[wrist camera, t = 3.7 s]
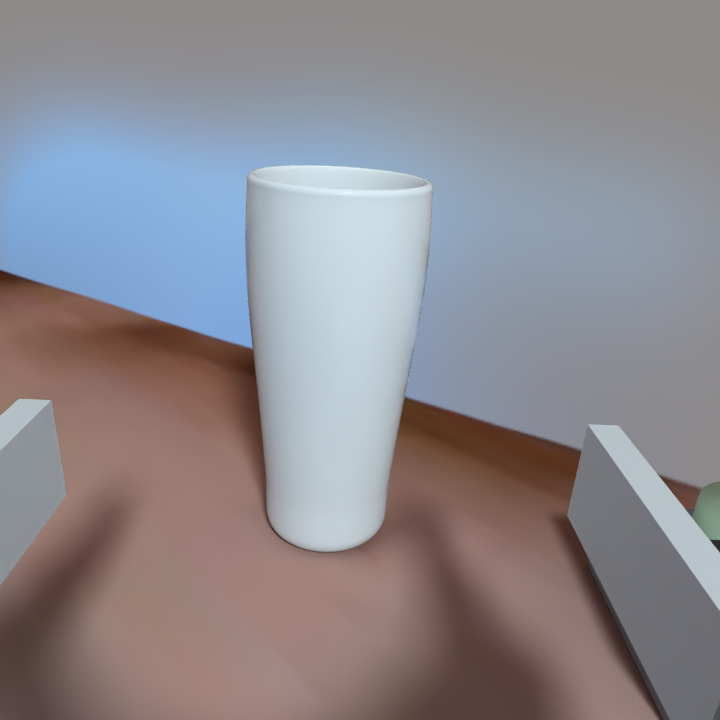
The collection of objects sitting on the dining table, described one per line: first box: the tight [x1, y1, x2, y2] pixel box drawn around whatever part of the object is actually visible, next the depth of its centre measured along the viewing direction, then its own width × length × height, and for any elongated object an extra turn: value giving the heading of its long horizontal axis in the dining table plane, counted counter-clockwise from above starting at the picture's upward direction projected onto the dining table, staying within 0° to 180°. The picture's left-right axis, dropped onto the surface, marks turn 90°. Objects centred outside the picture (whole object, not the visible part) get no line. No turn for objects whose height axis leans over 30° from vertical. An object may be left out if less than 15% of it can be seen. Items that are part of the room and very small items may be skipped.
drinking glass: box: [245, 165, 433, 552], centre depth 25 cm, size 7×7×15 cm
